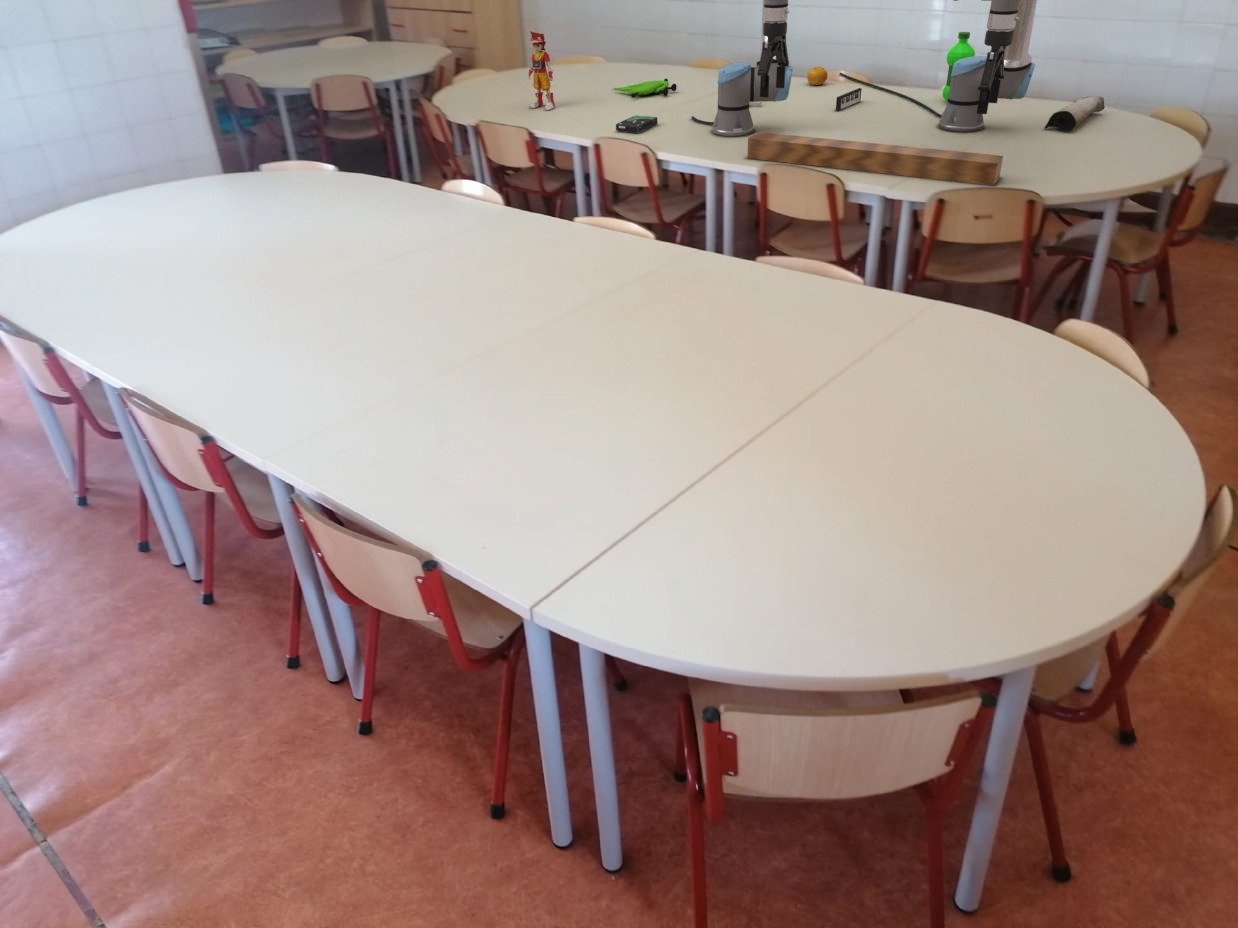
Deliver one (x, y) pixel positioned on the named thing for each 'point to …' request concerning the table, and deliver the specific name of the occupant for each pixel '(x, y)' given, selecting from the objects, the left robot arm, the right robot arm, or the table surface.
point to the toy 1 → (541, 71)
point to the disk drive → (636, 124)
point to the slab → (877, 158)
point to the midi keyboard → (848, 99)
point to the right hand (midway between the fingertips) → (986, 108)
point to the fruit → (817, 76)
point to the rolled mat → (1075, 113)
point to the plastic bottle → (957, 57)
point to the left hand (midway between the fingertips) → (772, 92)
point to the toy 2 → (648, 88)
